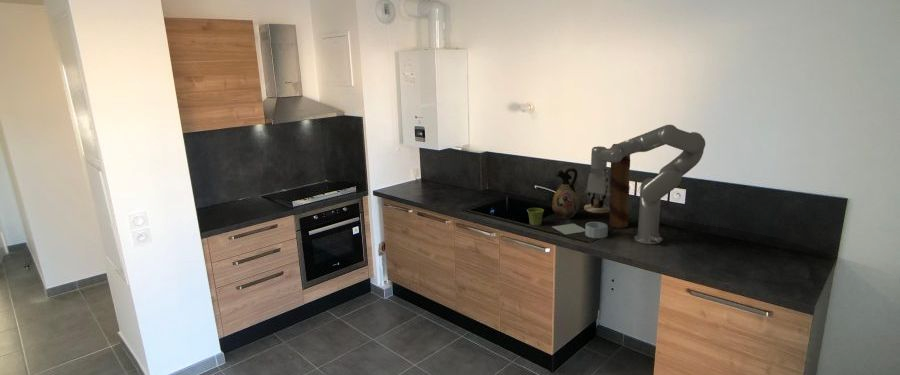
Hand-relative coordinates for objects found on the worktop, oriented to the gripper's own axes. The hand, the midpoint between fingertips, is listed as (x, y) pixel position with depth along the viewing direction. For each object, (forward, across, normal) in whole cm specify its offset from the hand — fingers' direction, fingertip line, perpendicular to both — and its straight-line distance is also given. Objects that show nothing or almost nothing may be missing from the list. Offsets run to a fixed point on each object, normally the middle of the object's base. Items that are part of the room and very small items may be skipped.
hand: (597, 206), depth 254 cm
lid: (+2, 0, 0) cm, 2 cm away
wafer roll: (+16, -1, -23) cm, 28 cm away
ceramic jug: (+16, +29, -19) cm, 38 cm away
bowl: (+16, 0, 0) cm, 16 cm away
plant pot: (+17, +35, +3) cm, 39 cm away
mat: (+16, +16, 0) cm, 22 cm away
